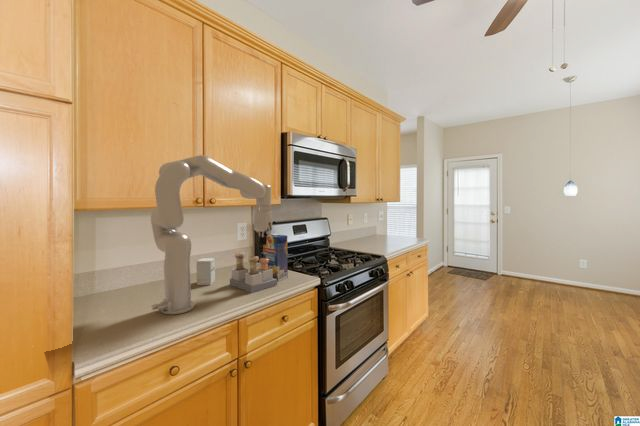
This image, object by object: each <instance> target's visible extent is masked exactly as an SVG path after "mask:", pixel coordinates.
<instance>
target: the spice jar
mask: <svg viewBox="0 0 640 426" xmlns="http://www.w3.org/2000/svg"><path fill="white" fill-rule="evenodd" d="M258 261H260V258H259V256H257V255H253V256H252V255H250V256H248V262H249V272H250V275H256V274H258V272H257V269H258Z"/></svg>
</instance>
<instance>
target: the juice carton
mask: <svg viewBox="0 0 640 426" xmlns="http://www.w3.org/2000/svg"><path fill="white" fill-rule="evenodd" d="M262 249H263V250H262V253H263V255H262V256H263V257H262V258H269V262H268V268H269V269H273V278H274V279H277V282H279V281H282V280H283V281H284V280H286V279H288V268H289V267H288V266H289V265H288V235H285V234H277V233H271V234H268V236H267V244H266V245H262Z"/></svg>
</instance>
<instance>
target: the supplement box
mask: <svg viewBox="0 0 640 426" xmlns="http://www.w3.org/2000/svg"><path fill="white" fill-rule="evenodd" d="M215 260H216V258H213V257H207V258H205V257H203V258H200V259H198V260H197V261H196V286H212V285H213V283H214V282H215V281H216V262H215Z"/></svg>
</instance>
